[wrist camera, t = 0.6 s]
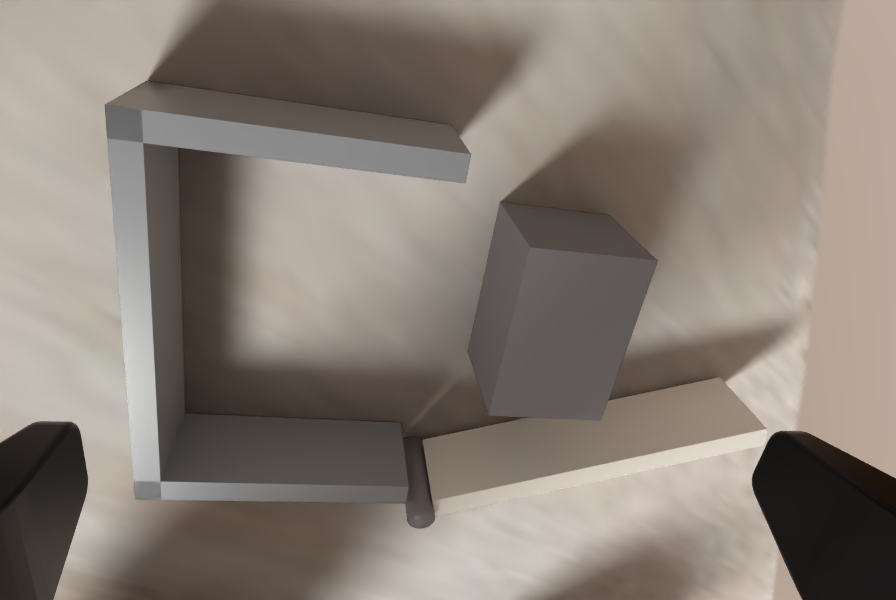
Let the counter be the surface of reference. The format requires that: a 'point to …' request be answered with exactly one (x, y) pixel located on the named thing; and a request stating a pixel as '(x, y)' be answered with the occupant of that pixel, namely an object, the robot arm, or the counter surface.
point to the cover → (574, 449)
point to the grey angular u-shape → (160, 295)
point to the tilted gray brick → (556, 312)
